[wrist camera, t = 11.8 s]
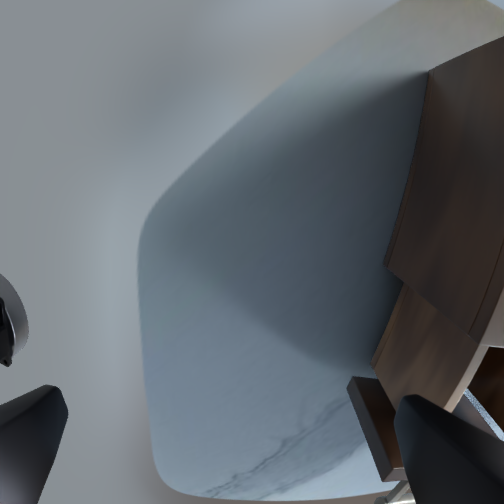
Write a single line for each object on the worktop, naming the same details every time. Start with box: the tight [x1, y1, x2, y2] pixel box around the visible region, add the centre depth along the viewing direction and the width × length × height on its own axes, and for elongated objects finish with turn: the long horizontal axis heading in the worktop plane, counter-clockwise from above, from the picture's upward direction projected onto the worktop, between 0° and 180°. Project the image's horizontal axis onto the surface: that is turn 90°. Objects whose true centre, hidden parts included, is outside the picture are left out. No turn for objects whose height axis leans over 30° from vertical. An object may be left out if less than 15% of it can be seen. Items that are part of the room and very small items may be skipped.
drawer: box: [347, 282, 504, 504], centre depth 16 cm, size 17×10×9 cm, turn 166°
